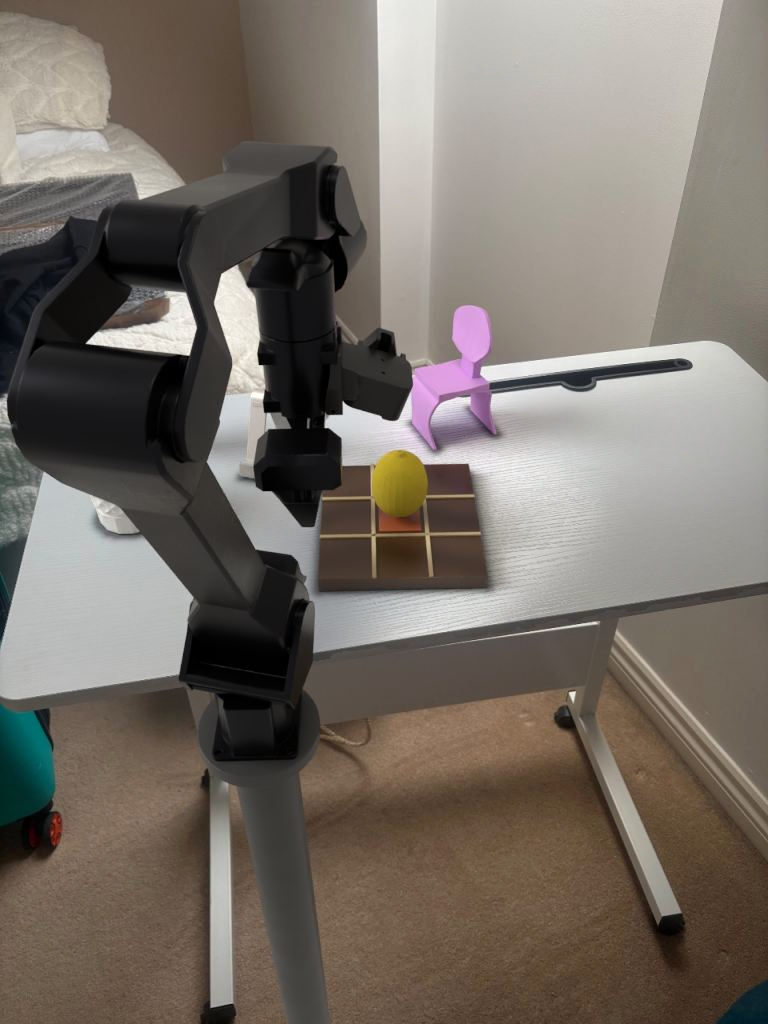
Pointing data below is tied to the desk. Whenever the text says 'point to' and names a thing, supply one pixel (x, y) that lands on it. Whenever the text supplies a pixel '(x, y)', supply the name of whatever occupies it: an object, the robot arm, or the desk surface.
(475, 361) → the toy chair
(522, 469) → the desk surface
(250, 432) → the tablet stand
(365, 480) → the board
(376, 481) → the lemon
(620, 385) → the desk surface
